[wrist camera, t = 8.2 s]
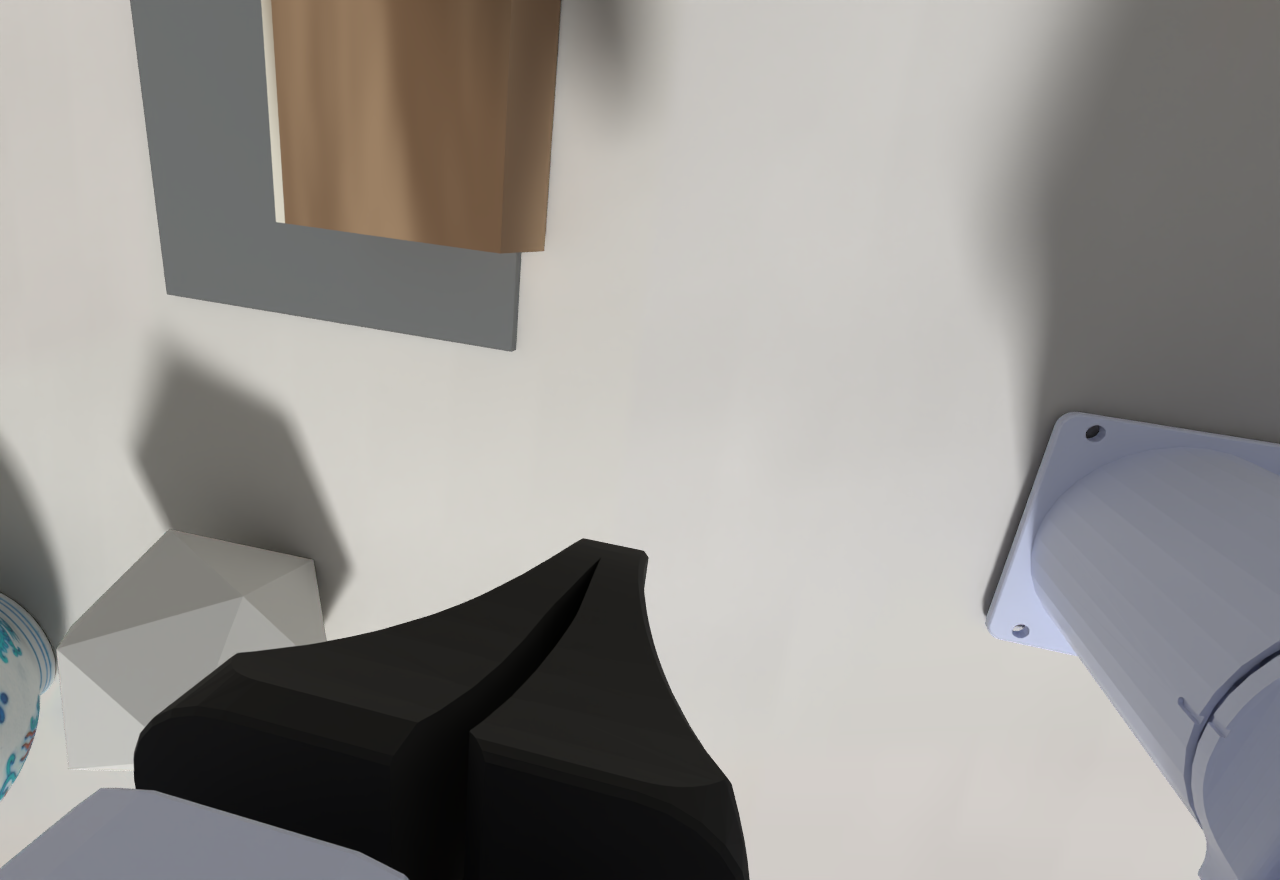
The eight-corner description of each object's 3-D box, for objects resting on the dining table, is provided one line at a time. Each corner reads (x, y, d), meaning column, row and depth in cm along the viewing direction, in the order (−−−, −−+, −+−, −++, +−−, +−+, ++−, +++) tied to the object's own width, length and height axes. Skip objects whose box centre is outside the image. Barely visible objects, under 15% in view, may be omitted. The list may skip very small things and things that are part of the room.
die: (211, 467, 28) (-53, 650, 22) (292, 514, 22) (-38, 775, 17) (327, 590, 32) (132, 765, 27) (419, 655, 27) (194, 893, 21)
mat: (548, -234, 17) (543, -244, 17) (515, 349, 22) (511, 351, 22) (112, -239, 19) (98, -249, 19) (176, 293, 24) (167, 294, 24)
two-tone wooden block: (518, -154, 14) (250, -163, 15) (500, 253, 17) (275, 221, 18) (566, -82, 18) (341, -94, 19) (544, 251, 21) (351, 224, 22)
